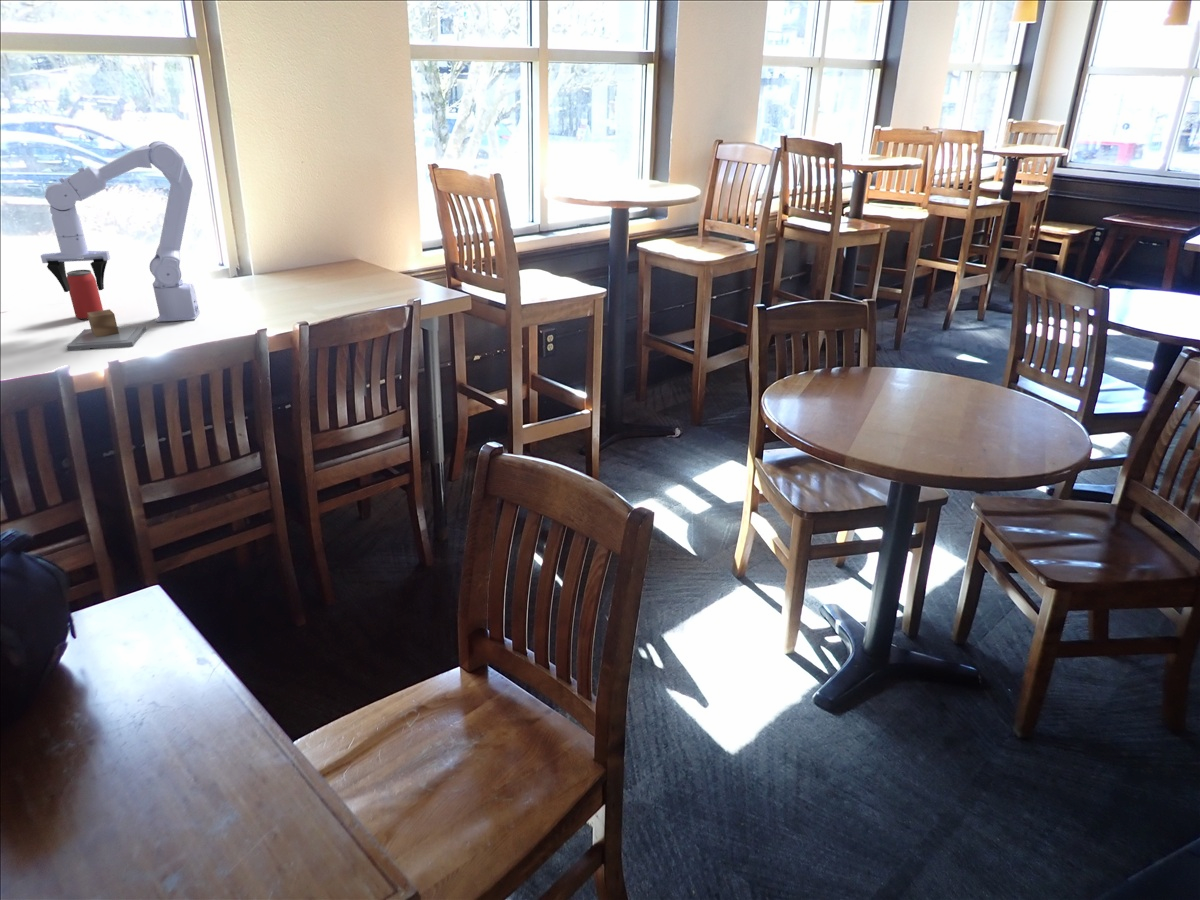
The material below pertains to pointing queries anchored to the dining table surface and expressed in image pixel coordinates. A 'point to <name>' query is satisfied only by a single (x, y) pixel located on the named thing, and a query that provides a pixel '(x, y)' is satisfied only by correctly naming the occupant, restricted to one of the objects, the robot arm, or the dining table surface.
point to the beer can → (83, 293)
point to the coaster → (108, 338)
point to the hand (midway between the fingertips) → (84, 290)
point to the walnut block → (103, 323)
